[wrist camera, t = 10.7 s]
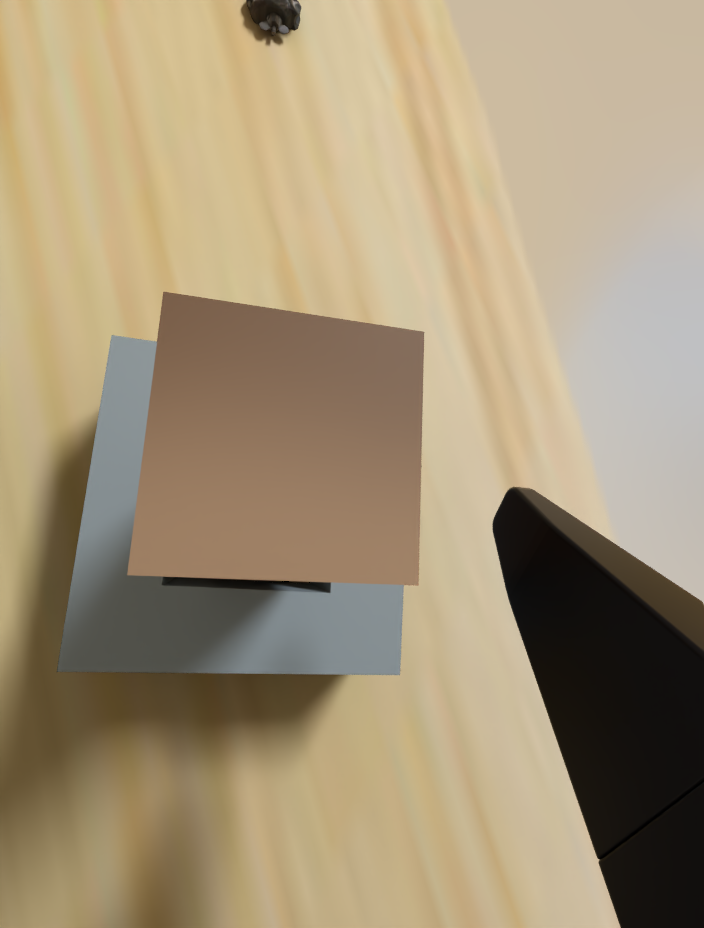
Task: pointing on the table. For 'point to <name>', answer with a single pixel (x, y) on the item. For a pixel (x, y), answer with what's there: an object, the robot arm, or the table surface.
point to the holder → (199, 581)
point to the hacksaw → (275, 14)
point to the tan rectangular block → (280, 448)
